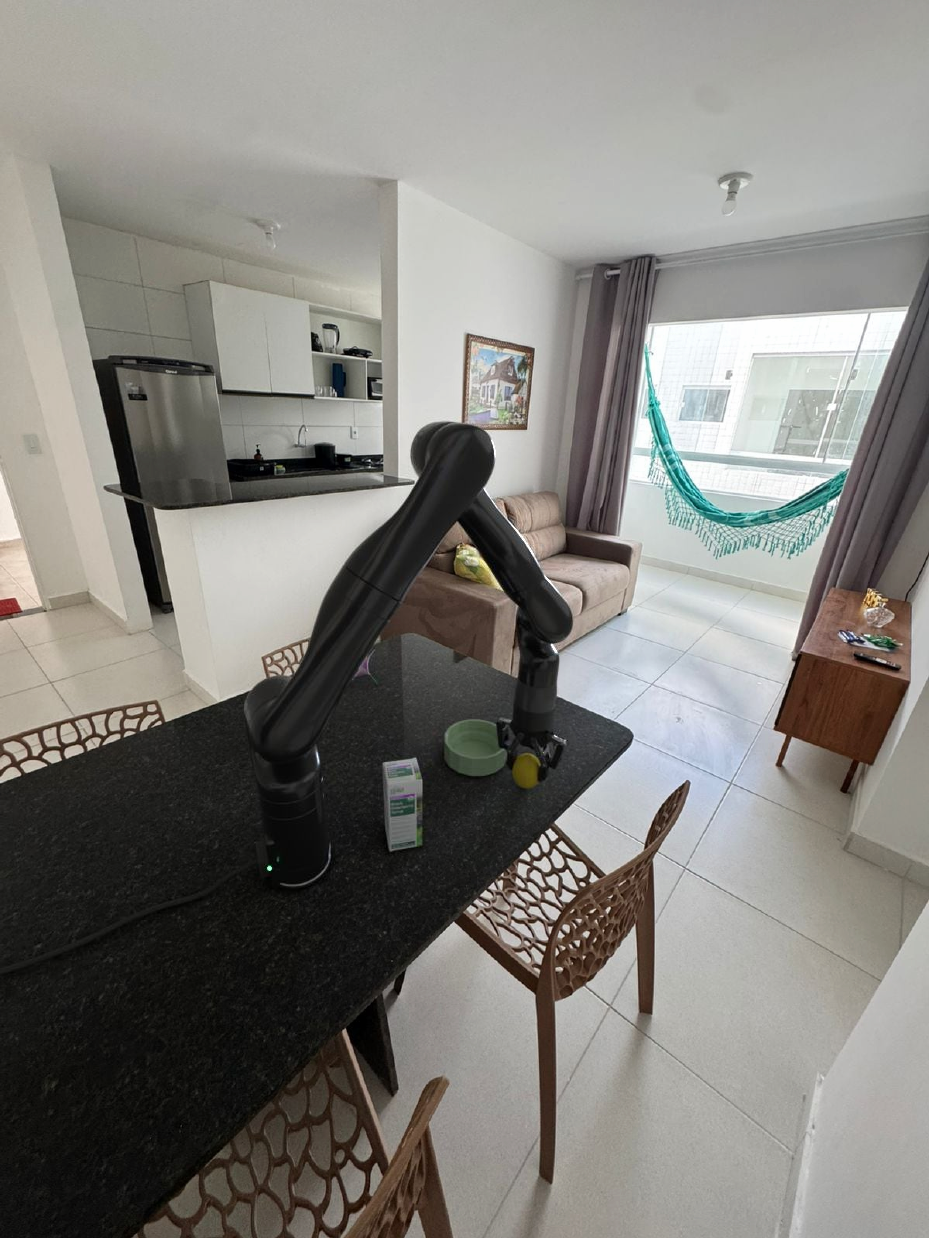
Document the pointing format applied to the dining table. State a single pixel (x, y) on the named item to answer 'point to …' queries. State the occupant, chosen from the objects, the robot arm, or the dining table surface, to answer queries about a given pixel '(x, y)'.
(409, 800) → the syrup box
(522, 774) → the lemon
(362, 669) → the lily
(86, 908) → the dining table surface
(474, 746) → the bowl
